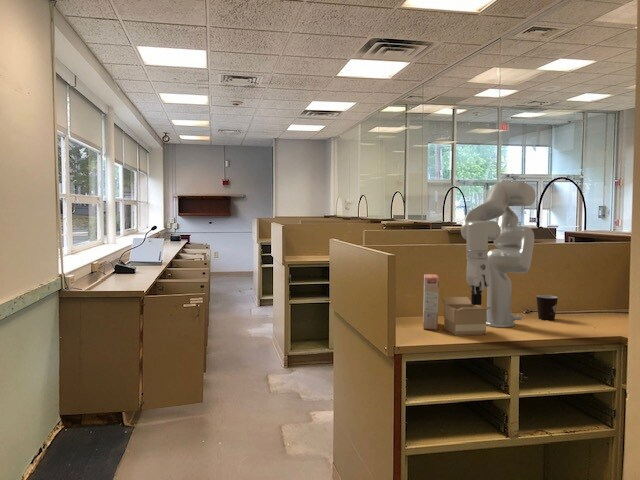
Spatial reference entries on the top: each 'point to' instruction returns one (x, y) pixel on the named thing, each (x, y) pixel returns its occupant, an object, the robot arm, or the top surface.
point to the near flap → (473, 308)
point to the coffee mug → (546, 307)
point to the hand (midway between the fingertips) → (476, 304)
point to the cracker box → (430, 301)
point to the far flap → (456, 300)
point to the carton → (464, 320)
